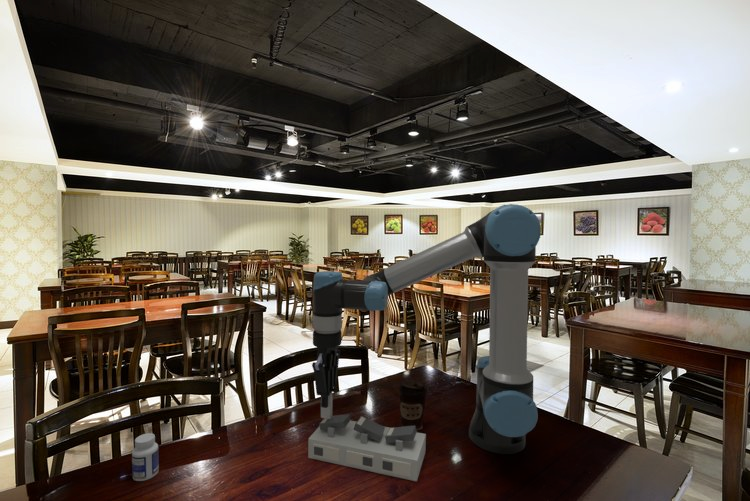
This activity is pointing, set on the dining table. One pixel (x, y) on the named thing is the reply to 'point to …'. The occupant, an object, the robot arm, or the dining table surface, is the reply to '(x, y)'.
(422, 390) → the coffee cup
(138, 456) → the pill bottle
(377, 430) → the switch
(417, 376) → the dining table surface
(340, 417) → the switch
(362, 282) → the robot arm
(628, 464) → the dining table surface
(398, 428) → the switch
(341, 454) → the console
